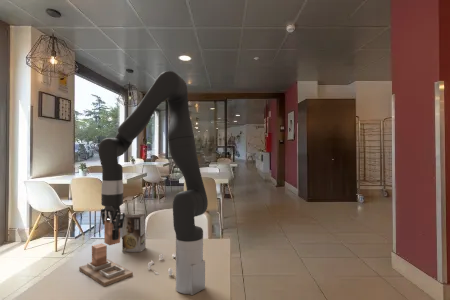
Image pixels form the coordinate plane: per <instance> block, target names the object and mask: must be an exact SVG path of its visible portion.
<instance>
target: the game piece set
mask: <svg viewBox="0 0 450 300" xmlns="http://www.w3.org/2000/svg"><path fill="white" fill-rule="evenodd" d="M158 256H159V261H162V260H164V259H163V258H164V254H162V253H161V254H159V255H158ZM171 257H172V258H176V251H173V253H172V255H171ZM152 265H154V261H153V260H151V261H148V263H147V269H148V270H149V271H150V270H151V268H152ZM153 272H154V275H159V274H160V273H159V272H156V271H155V270H153ZM167 272H168V276H169V277H171V276H172V275H173V272H174V270H173V268H170V267H169V268H168V270H167Z"/></svg>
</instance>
